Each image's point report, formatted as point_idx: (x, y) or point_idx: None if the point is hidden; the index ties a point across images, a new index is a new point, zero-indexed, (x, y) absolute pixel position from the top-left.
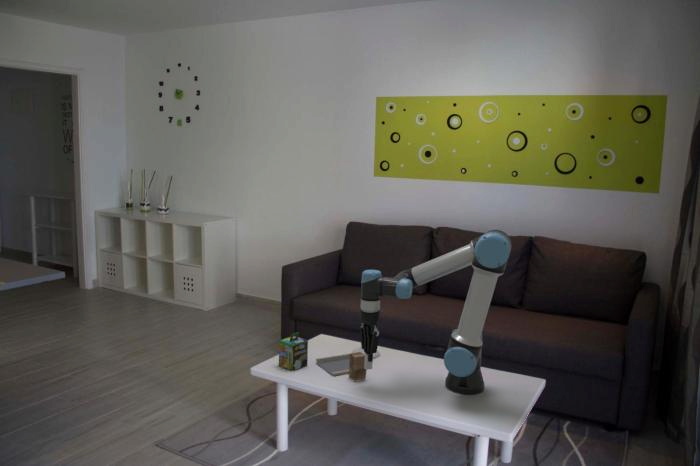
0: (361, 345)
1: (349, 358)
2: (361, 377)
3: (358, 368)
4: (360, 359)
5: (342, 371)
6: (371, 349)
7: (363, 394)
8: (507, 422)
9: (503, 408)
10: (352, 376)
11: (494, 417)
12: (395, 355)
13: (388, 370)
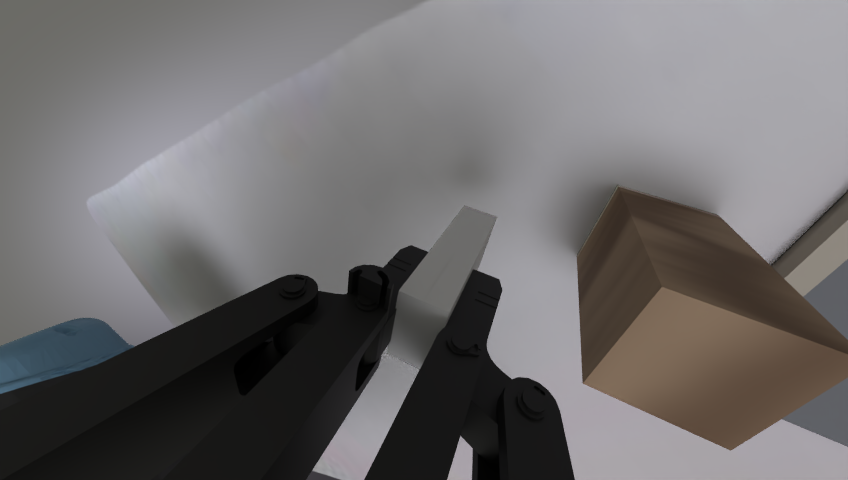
0: (559, 447)
1: (818, 312)
2: (592, 238)
3: (615, 249)
4: (615, 313)
5: (845, 239)
6: (228, 310)
7: (424, 65)
8: (124, 250)
9: (180, 308)
10: (664, 206)
11: (145, 255)
12: None
13: (558, 405)
